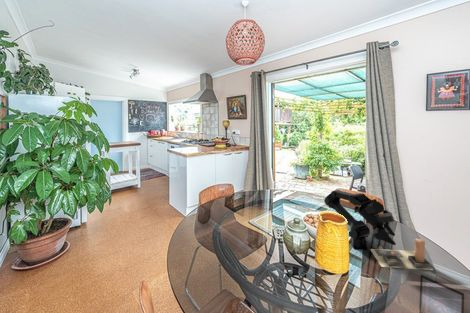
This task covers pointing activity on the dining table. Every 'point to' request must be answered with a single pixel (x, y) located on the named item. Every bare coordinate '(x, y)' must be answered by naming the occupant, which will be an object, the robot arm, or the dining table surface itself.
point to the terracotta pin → (419, 250)
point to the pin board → (399, 259)
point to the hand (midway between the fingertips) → (394, 239)
